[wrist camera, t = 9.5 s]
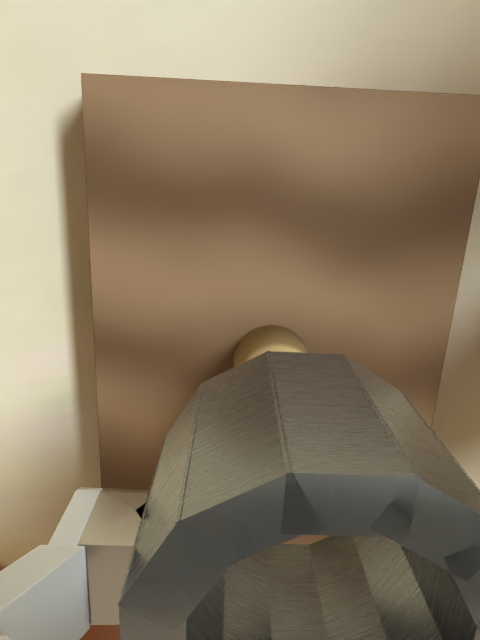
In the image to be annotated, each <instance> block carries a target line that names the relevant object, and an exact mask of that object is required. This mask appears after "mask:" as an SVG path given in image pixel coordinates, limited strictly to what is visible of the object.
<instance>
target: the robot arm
mask: <svg viewBox="0 0 480 640" xmlns="http://www.w3.org/2000/svg"><path fill="white" fill-rule="evenodd" d="M148 494H149V491H147V490H129V489H111V488H104V489H102V488H86V487H80V488H79V489H77V490H76V491H75V492H74V494H73V496H72V498H71V500H70V502H69V504H68V506H67V508H66V510H65V512H64V514H63V516H62V517H61V519H60V521H59V523H58V525H57V527H56V529H55V531H54V533H53V535H52V537H51V539H50V541H49V543H48V544H47V545H39V546H37V547H36V548H34V549H33V550H31V551H30V552H28V553H27V554H25V555H24V556H22V557H21V558H19V559H18V560H16V561H15V562H13V563H12V564H10V565H9V566H7V567H6V568H5V569H3V570H2V571H0V640H80V638H81V637H82V636H83V635H84V634H85V633H86V631H88V629H89V628H90V625H120V622H119V605H117V604H118V601H119V597H120V594H121V590H122V587H123V583H124V579H125V576H126V572H127V569H128V565H129V562H130V558H131V555H132V551H133V548H134V544H135V541H136V537H137V533H138V530H139V526H140V523H141V519H142V515H143V512H144V508H145V505H146V501H147V498H148Z"/></svg>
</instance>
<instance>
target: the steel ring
mask: <svg viewBox="0 0 480 640" xmlns="http://www.w3.org/2000/svg"><path fill="white" fill-rule="evenodd" d="M301 535H331V536H329V537H326V538H324V539H322V540H319V541H317V542H314V543H312V544H309V545H305V544H282V543H284V542H286V541H289V540H291V539H294V538H296V537H298V536H301ZM117 605H119V622H120V640H480V490H479V489H478V487H477V486H476V485H475V484H474V482H473V481H472V480H471V478H470V477H469V476H468V475H467V473H466V472H465V471H464V470H463V468H462V467H461V466H460V464H459V463H458V462H457V461H456V459H455V458H454V457H453V456H452V454H451V453H450V452H449V450H448V449H447V448H446V447H445V445H444V444H443V443H442V441H441V440H440V439H439V438H438V436H437V435H436V434H435V433H434V431H433V430H432V429H431V427H430V426H429V425H428V424H427V422H426V421H425V420H424V419H423V417H422V416H421V415H420V413H419V412H418V411H417V410H416V408H415V407H414V406H413V405H412V403H411V402H410V401H409V399H408V398H407V397H406V396H405V394H404V393H403V392H402V391H401V390H399V389H397V388H396V387H394V386H393V385H391V384H389V383H388V382H386V381H385V380H383V379H381V378H380V377H378V376H377V375H375V374H373V373H372V372H370V371H368V370H367V369H365V368H364V367H362V366H360V365H359V364H357V363H356V362H354V361H352V360H351V359H349V358H348V357H346V356H345V355H344V354H326V353H302V352H277V351H266V352H265V353H263V354H261V355H258V356H256V357H254V358H252V359H250V360H248V361H246V362H244V363H242V364H240V365H238V366H236V367H234V368H231V369H229V370H227V371H225V372H223V373H221V374H219V375H217V376H215V377H213V378H211V379H209V380H207V381H205V382H202V383H200V386H199V388H198V389H197V391H196V392H195V393H194V395H193V396H192V398H191V399H190V401H189V402H188V404H187V405H186V407H185V408H184V410H183V411H182V413H181V414H180V416H179V417H178V419H177V420H176V422H175V423H174V425H173V426H172V428H171V429H170V431H169V432H168V434H167V435H166V436H165V437H164V441H163V444H162V448H161V451H160V455H159V458H158V462H157V466H156V469H155V473H154V476H153V480H152V483H151V487H150V490H149V494H148V498H147V501H146V505H145V508H144V512H143V515H142V519H141V523H140V526H139V530H138V533H137V537H136V541H135V544H134V548H133V551H132V555H131V558H130V562H129V565H128V569H127V572H126V576H125V579H124V583H123V587H122V590H121V594H120V597H119V601H118V604H117Z"/></svg>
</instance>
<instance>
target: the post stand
mask: <svg viewBox="0 0 480 640" xmlns="http://www.w3.org/2000/svg"><path fill="white" fill-rule="evenodd" d="M81 84H82V104H83V124H84V144H85V164H86V184H87V204H88V224H89V244H90V265H91V285H92V305H93V325H94V345H95V365H96V385H97V405H98V425H99V445H100V466H101V486H102V489H104V488H111V489H129V490H147V491H149V490H150V487H151V483H152V480H153V476H154V473H155V469H156V466H157V462H158V458H159V455H160V451H161V448H162V444H163V441H164V437H165V436H166V435H167V434H168V432H169V431H170V429H171V428H172V426H173V425H174V423H175V422H176V420H177V419H178V417H179V416H180V414H181V413H182V411H183V410H184V408H185V407H186V405H187V404H188V402H189V401H190V399H191V398H192V396H193V395H194V393H195V392H196V391H197V389H198V388H199V386H200V383H202V382H205V381H207V380H209V379H211V378H213V377H215V376H217V375H219V374H221V373H223V372H225V371H227V370H229V369H231V368H234V367H236V366H238V365H240V364H242V363H244V362H246V361H248V360H250V359H252V358H254V357H256V356H258V355H261V354H263V353H265V352H266V351H277V352H302V353H326V354H344V355H345V356H346V357H348V358H349V359H351V360H352V361H354V362H356V363H357V364H359V365H360V366H362V367H364V368H365V369H367V370H368V371H370V372H372V373H373V374H375V375H377V376H378V377H380V378H381V379H383V380H385V381H386V382H388V383H389V384H391V385H393V386H394V387H396V388H397V389H399V390H401V391H402V392H403V393H404V394H405V396H406V397H407V398H408V399H409V401H410V402H411V403H412V405H413V406H414V407H415V408H416V410H417V411H418V412H419V413H420V415H421V416H422V417H423V419H424V420H425V421H426V422H427V424H428V425H429V426H430V427H431V425H432V420H433V414H434V409H435V404H436V399H437V394H438V389H439V384H440V378H441V373H442V368H443V363H444V358H445V353H446V347H447V342H448V337H449V332H450V327H451V322H452V316H453V311H454V306H455V301H456V296H457V291H458V286H459V280H460V275H461V270H462V265H463V260H464V255H465V249H466V244H467V239H468V234H469V229H470V224H471V218H472V213H473V208H474V203H475V198H476V193H477V187H478V182H479V177H480V95H465V94H447V93H429V92H411V91H393V90H375V89H357V88H339V87H321V86H303V85H285V84H267V83H249V82H231V81H213V80H195V79H177V78H159V77H141V76H123V75H105V74H87V73H81ZM329 536H331V535H301V536H298V537H296V538H294V539H291V540H289V541H286V542H284V543H282V544H305V545H309V544H312V543H314V542H317V541H319V540H322V539H324V538H326V537H329Z"/></svg>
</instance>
